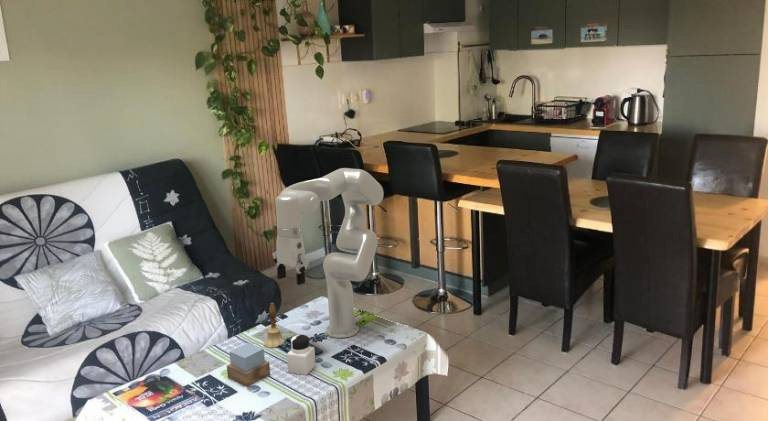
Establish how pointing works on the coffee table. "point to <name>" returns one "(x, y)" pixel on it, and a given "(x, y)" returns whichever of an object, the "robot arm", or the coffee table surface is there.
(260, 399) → the coffee table surface
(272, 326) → the hand bell
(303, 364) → the medicine bottle
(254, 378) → the block base
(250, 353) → the block top
